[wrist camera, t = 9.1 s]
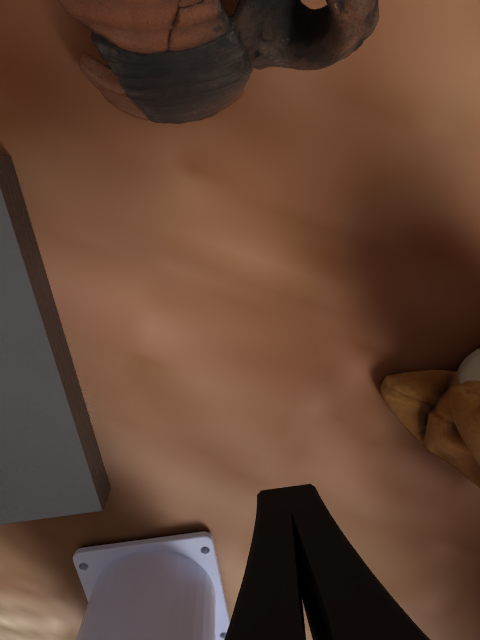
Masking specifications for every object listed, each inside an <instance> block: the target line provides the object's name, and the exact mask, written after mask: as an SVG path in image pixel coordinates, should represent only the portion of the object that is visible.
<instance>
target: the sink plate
mask: <svg viewBox="0 0 480 640" xmlns="http://www.w3.org/2000/svg"><path fill="white" fill-rule="evenodd" d="M110 490H111V488H110V485H109V482H108V478H107V475H106V472H105V468H104V465H103V462H102V458H101V455H100V452H99V448H98V445H97V442H96V439H95V435H94V432H93V429H92V425H91V422H90V419H89V415H88V412H87V409H86V405H85V402H84V399H83V395H82V392H81V389H80V385H79V382H78V379H77V375H76V372H75V369H74V365H73V362H72V359H71V355H70V352H69V349H68V345H67V342H66V339H65V335H64V332H63V329H62V325H61V322H60V319H59V315H58V312H57V309H56V305H55V302H54V299H53V295H52V292H51V289H50V285H49V282H48V279H47V275H46V272H45V269H44V265H43V262H42V259H41V255H40V252H39V249H38V245H37V242H36V239H35V235H34V232H33V229H32V225H31V222H30V219H29V215H28V212H27V209H26V205H25V202H24V199H23V195H22V192H21V189H20V185H19V182H18V179H17V175H16V172H15V169H14V166H13V162H12V159H11V156H6V155H0V525H1V524H9V523H16V522H23V521H31V520H38V519H45V518H53V517H60V516H67V515H75V514H82V513H89V512H97V511H102V510H103V508H104V505H105V503H106V500H107V498H108V495H109V493H110Z"/></svg>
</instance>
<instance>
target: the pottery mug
mask: <svg viewBox="0 0 480 640" xmlns="http://www.w3.org/2000/svg"><path fill="white" fill-rule="evenodd" d="M58 1H59V2H60V4H61V5H62V7H63V8H64V10H65V11H66V12H67V13H68V14H69V15H70V16H72V17H73V18H75V19H76V20H78V21H80V22H81V23H83V24H84V25H86V26H88V27H90V28H91V29H92V35H91V38H92V41H93V42H94V43H95V45H96V47H97V49H98V51H99V53H100V54H101V56H102V58H103V59H104V60H105V61H107V63H108V64H109V66H110V68H109V67H108V66H106V65H103V64H102V63H100V62H99V61H97V60H95V59H94V58H92V57H91V56H89V55H88V54H82V55H81V57H80V58H79V66H80V68H81V70H82V71H83V73H84V74H85V75H86V77H87V78H88V79H89V80H90V81H91V82H92V83H93V84H94V85H95V86H96V87H97V88H98V89H99V90H100V91H101V92H102V94H103V95H104V97H105V98H106V99H107V100H108V102H110V103H111V104H113V105H114V106H115V107H117V108H118V109H120V110H121V111H123V112H125V113H127V114H129V115H132V116H134V117H138V118H141V119H144V120H151V121H153V122H157V123H176V124H181V123H186V122H191V121H197V120H202V119H204V118H208V117H211V116H213V115H215V114H217V113H218V112H219V111H221V110H222V109H224V108H226V107H228V106H229V105H230V104H232V103H233V102H234V101H236V100H237V99H238V98H239V97H240V96H241V95H242V93H243V89H244V86H245V83H246V82H247V81H248V79H249V76H250V73H251V72H252V71H253V68H256V69H264V68H267V67H274V66H275V67H284V68H292V69H297V70H318V69H322V68H325V67H328V66H330V65H332V64H334V63H336V62H337V61H340V60H342V59H344V58H346V57H348V56H349V55H350V54H351V53H352V52H354V51H356V50H357V49H358V48H359V47H360V46H361V45H362V44H363V41H364V40H365V39H366V38H367V37H369V36H370V35H371V34H372V32H373V31H374V28H375V27H376V25H377V22H378V19H379V8H378V0H326V2H327V4H328V5H326V6H325V7H322V8H320V9H315V10H314V9H310V8H308V7H307V6H305V5H304V4H303V3H302V2H301V0H239V2H238V4H237V7H236V9H235V11H234V13H233V15H232V17H229V16H228V15H227V14H226V13H225V11H224V8H223V5H222V3H221V0H58Z"/></svg>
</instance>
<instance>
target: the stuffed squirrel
mask: <svg viewBox="0 0 480 640" xmlns="http://www.w3.org/2000/svg"><path fill="white" fill-rule="evenodd" d="M380 389H381V394H382V396H383V398H384V400H385V402H386V403H387V405H388V406H389V408H390V409H391V410H392V412H393V413H394V414H395V415H396V417H397V418H398V419H399V420H400V421H401V422H402V423H403V424H404V425H405V426H406V427H407V429H408V430H409V431H410V432H411V433H412V434H414V435H415V436H416V437H417V438H418V439H419V440H420V441H421V443H422V444H423V445H424V446H425V447H426V448H427V449H428V450H429V451H430V452H432V453H434V454H435V455H437V456H439V457H440V458H442V459H444V460H446V461H447V462H448V463H450V464H451V465H453V466H454V467H455V468H457V469H458V470H459V471H460V472H462V473H463V474H464V475H465V476H466V477H467V478H468V479H470V480H471V481H472V482H473V483H475V484H476V485H477V486H478V487H479V488H480V348H479V349H477V350H475V351H474V352H472V353H471V354H470V355H468V356H467V357H466V358H465V359H464V360H463V362H462V363H461V364H460V366H459V368H458V371H456V372H454V371H447V370H424V371H413V372H405V373H398V374H394V375H387V376H386V377H385V378H384V380H383V382H382V384H381V386H380Z"/></svg>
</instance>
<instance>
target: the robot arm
mask: <svg viewBox="0 0 480 640" xmlns="http://www.w3.org/2000/svg"><path fill="white" fill-rule="evenodd" d="M204 547H207V548H204ZM73 562H74V565H75V567H76V570H77V573H78V576H79V578H80V581H81V584H82V587H83V589H84V592H85V595H86V598H87V600H88V605H87V608H86V611H85V614H84V617H83V620H82V623H81V626H80V629H79V631H78V634H77V637H76V640H306V634H305V624H304V614H303V604H304V608H305V611H306V615H307V619H308V623H309V627H310V631H311V634H312V638H313V640H430V639H429V638H428V637H427V636H426V635H425V634H424V633H423V632H422V630H421V629H420V628H419V627H418V626H417V625H416V624H415V623H414V622H413V621H412V619H411V618H410V617H409V616H408V615H407V614H406V613H405V611H404V610H403V609H402V608H401V607H400V606H399V605H398V603H397V602H396V601H395V600H394V599H393V597H392V596H391V595H390V594H389V593H388V591H387V590H386V589H385V588H384V587H383V585H382V584H381V583H380V582H379V580H378V579H377V578H376V577H375V575H374V574H373V573H372V572H371V570H370V569H369V568H368V567H367V565H366V564H365V563H364V561H363V560H362V559H361V557H360V556H359V554H358V553H357V552H356V550H355V549H354V548H353V546H352V545H351V544H350V542H349V541H348V540H347V538H346V537H345V535H344V534H343V532H342V531H341V530H340V528H339V527H338V525H337V524H336V522H335V520H334V519H333V517H332V516H331V514H330V513H329V511H328V510H327V508H326V506H325V505H324V503H323V501H322V499H321V498H320V496H319V494H318V492H317V490H316V488H315V487H314V486H313V485H311V484H306V485H299V486H291V487H284V488H277V489H269V490H262V491H260V493H259V494H258V495H257V513H256V521H255V527H254V533H253V538H252V543H251V548H250V552H249V556H248V561H247V565H246V569H245V573H244V577H243V581H242V584H241V588H240V591H239V594H238V598H237V601H236V604H235V608H234V611H233V615H232V618H231V621H230V618H229V613H228V608H227V604H226V599H225V594H224V589H223V584H222V580H221V575H220V570H219V565H218V560H217V556H216V551H215V546H214V541H213V537H212V535H211V534H210V533H208V532H195V533H188V534H181V535H173V536H166V537H158V538H151V539H143V540H136V541H129V542H121V543H114V544H106V545H99V546H92V547H84V548H79V549H77V550H76V551H75V553H74V556H73ZM302 600H303V603H302Z"/></svg>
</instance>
